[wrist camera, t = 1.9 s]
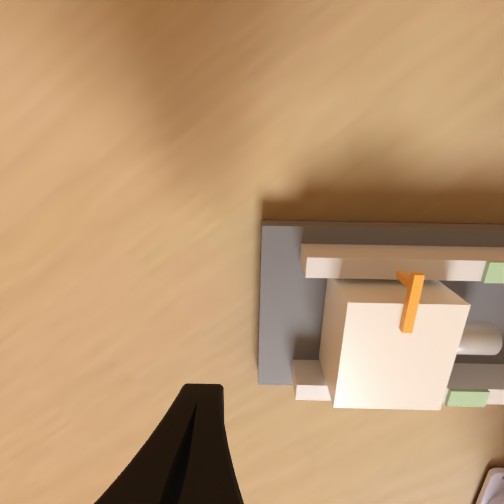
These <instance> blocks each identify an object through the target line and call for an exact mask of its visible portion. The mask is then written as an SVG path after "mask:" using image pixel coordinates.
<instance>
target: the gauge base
mask: <svg viewBox="0 0 504 504" xmlns="http://www.w3.org/2000/svg"><path fill="white" fill-rule="evenodd" d="M397 271H405V272H406V273H407V274H408V275H409V276H410V274H411V272H421V273H423V274H424V275H425V278H424V280H438V281H440V282H441V283H442V284H444V285H445V286H446V287H448V288H449V289H450V290H452V291H453V292H454V293H456V294H457V295H458V296H460V297H461V298H462V299H464V300H465V301H466V302H468V303H469V304H470V305H471V306H470V310H469V313H468V316H467V320H466V321H488V322H491V323H493V324H494V325H495V326H496V327H497V328H498V329H499V331H500V333H501V337H502V348H501V350H500V352H499V353H498V354H496V355H468V354H456V358H455V361H454V364H453V368H452V371H451V375H450V378H449V382H448V385H447V388H446V392H445V395H444V399H443V402H442V403H445V404H446V406H459V407H485V406H486V404H503V405H504V224H458V223H402V222H346V221H289V220H262V231H261V269H260V307H259V346H258V384H261V385H293V386H294V393H295V400H328V401H331V397H330V394H329V391H328V387H327V384H326V380H325V377H324V373H323V370H322V366H321V363H320V360H319V350H320V341H321V332H322V322H323V313H324V304H325V295H326V285H327V278H341V279H393V280H398V279H397V278H396V273H397Z"/></svg>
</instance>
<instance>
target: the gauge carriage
mask: <svg viewBox="0 0 504 504" xmlns="http://www.w3.org/2000/svg"><path fill="white" fill-rule="evenodd" d="M396 278H397V279H398V280H393V279H341V278H327V285H326V295H325V304H324V313H323V322H322V332H321V341H320V350H319V360H320V363H321V366H322V370H323V373H324V377H325V380H326V384H327V387H328V391H329V394H330V397H331V401H332V404H333V408H367V409H410V410H440V409H441V405H442V402H443V399H444V395H445V392H446V388H447V385H448V382H449V378H450V375H451V371H452V368H453V364H454V361H455V358H456V354H468V355H496V354H498V353H499V352H500V350H501V348H502V337H501V333H500V331H499V329H498V328H497V327H496V326H495V325H494V324H493V323H491V322H488V321H466V320H467V316H468V313H469V310H470V306H471V305H470V304H469V303H468V302H466V301H465V300H464V299H462V298H461V297H460V296H458V295H457V294H456V293H454V292H453V291H452V290H450V289H449V288H448V287H446V286H445V285H444V284H442V283H441V282H440V281H438V280H424V278H425V275H424V274H423V273H421V272H411V274H410V276H409V275H408V274H407V273H406V272H405V271H397V273H396Z"/></svg>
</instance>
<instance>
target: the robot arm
mask: <svg viewBox="0 0 504 504" xmlns="http://www.w3.org/2000/svg"><path fill="white" fill-rule="evenodd" d="M94 504H244V503H243V499H242V496H241V493H240V490H239V486H238V483H237V479H236V476H235V472H234V468H233V464H232V460H231V456H230V452H229V447H228V442H227V437H226V431H225V425H224V394H223V386H222V385H220V384H185V385H184V386H183V387H182V389H181V390H180V392H179V394H178V396H177V397H176V399H175V400H174V402H173V404H172V405H171V407H170V408H169V410H168V411H167V413H166V414H165V416H164V417H163V419H162V420H161V422H160V423H159V425H158V426H157V427H156V429H155V430H154V432H153V433H152V434H151V436H150V437H149V439H148V440H147V441H146V443H145V444H144V445H143V446H142V448H141V449H140V450H139V452H138V453H137V454H136V455H135V457H134V458H133V459H132V461H131V462H130V463H129V464H128V466H127V467H126V468H125V469H124V470H123V472H122V473H121V474H120V475H119V476H118V478H117V479H116V480H115V481H114V482H113V483H112V484H111V486H110V487H109V488H108V489H107V490H106V491H105V492H104V493H103V495H102V496H101V497H100V498H99V499H98V500H97V501H96V502H95V503H94ZM476 504H504V468H492V469H490V470H489V471H488V474H487V476H486V479H485V481H484V484H483V486H482V489H481V491H480V494H479V496H478V499H477V502H476Z"/></svg>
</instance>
